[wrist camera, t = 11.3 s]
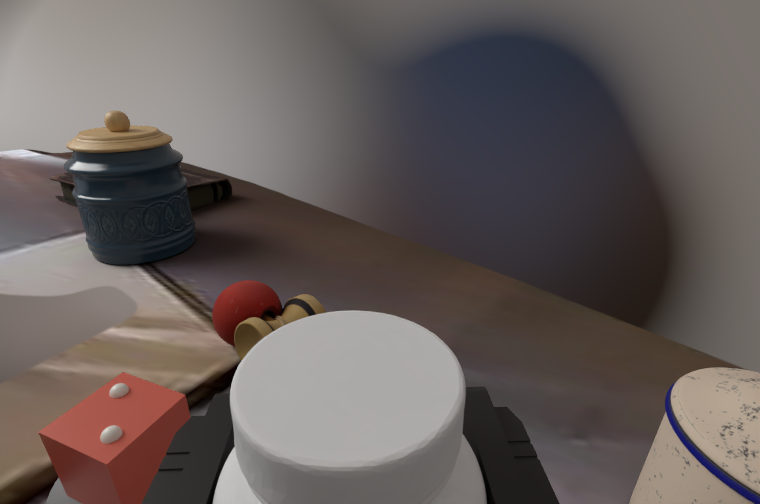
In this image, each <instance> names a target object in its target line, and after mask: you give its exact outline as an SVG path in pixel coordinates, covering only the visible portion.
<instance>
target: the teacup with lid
mask: <svg viewBox="0 0 760 504" xmlns="http://www.w3.org/2000/svg"><path fill="white" fill-rule="evenodd" d="M665 409H666V413H665V415H664V417H663V420H662V422H661V425H660V427H659V430H658V432H657V435H656V437H655V440H654V442H653V445H652V447H651V449H650V452H649V454H648V457H647V459H646V462H645V464H644V467H643V469H642V472H641V474H640V476H639V479H638V481H637V484H636V486H635V489H634V491H633V494H632V496H631V499H630V504H760V373H757V372H753V371H748V370H742V369H734V368H706V369H700V370H696V371H693V372H691V373H688V374H686V375H684V376H683V377H681V378H680V379H679V380H678V381H677V382H675V383H674V384H673V385H672V386H671V387H670V389H669V390H668V392H667V395H666V399H665Z"/></svg>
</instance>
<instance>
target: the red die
mask: <svg viewBox="0 0 760 504" xmlns="http://www.w3.org/2000/svg"><path fill="white" fill-rule="evenodd" d="M190 418H191V417H190V413H189V409H188V405H187V400H186V396H185V395H184V394H181V393H179V392H176V391H173V390H170V389H168V388H165V387H162V386H159V385H157V384H154V383H151V382H148V381H146V380H143V379H140V378H137V377H135V376H132V375H129V374H126V373H124V372H123V373H121V374H120V375H118V376H117V377H116V378H114V379H113V380H111V381H110V382H109V383H107V384H106V385H104V386H103V387H101V388H100V389H99V390H97V391H96V392H94V393H93V394H92V395H90V396H89V397H87V398H86V399H85V400H83V401H82V402H80V403H79V404H78V405H76V406H75V407H73V408H72V409H70V410H69V411H68V412H66V413H65V414H63V415H62V416H61V417H59V418H58V419H56V420H55V421H54V422H52V423H51V424H49V425H48V426H47V427H45V428H44V429H42V430H41V431H39V435H40V437H41V439H42V441H43V444H44V446H45V448H46V450H47V452H48V455H49V457H50V459H51V461H52V464H53V466H54V468H55V470H56V472H57V475H58V477H59V478H58V479H57V481H56V482H55V484H54V486H53V488H52V490H51V492H50V494H49V497H48V499H47V502H46V504H142V502H143V500H144V498H145V496H146V493H147V491H148V489H149V487H150V485H151V483H152V481H153V479H154V477H155V475H156V473H158V468H159V466H160V464H161V462H162V460H163V458H164V457H165V456H166V452H167V450H168V448H169V446H170V444H171V441H172V439H173V437H174V435H175V433H176V432H177V431H178V430H179V429H180V428H181V427H182V426H183V425H184V424H185V423H186V422H187V421H188V420H189V419H190Z"/></svg>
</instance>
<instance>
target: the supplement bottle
mask: <svg viewBox="0 0 760 504" xmlns="http://www.w3.org/2000/svg"><path fill="white" fill-rule="evenodd" d="M465 398H466V387H465V379H464V375H463V372H462V369H461V366H460V364H459V362H458V360H457V358H456V356H455V355H454V353H453V352H452V351H451V349H450V348H449V347H448V346H447V345H446V344H445V343H444V342H443V341H442V340H441V339H440V338H438V337H437V336H436V335H435V334H433V333H432V332H430V331H429V330H427V329H425V328H424V327H422V326H420V325H418V324H416V323H413V322H411V321H408V320H406V319H403V318H400V317H397V316H393V315H388V314H384V313H377V312H370V311H336V312H328V313H322V314H317V315H313V316H309V317H305V318H302V319H299V320H297V321H294V322H291V323H289V324H287V325H284V326H282V327H280V328H279V329H277V330H275V331H273V332H272V333H270V334H269V335H267V336H266V337H264V338H263V339H262V340H260V341H259V342H258V343H257V344H256V345H255V346H254V347H253V348H252V349H251V350H250V351H249V352H248V353H247V355H246V356H245V357H244V358H243V360H242V361H241V363H240V364H239V366H238V368H237V370H236V372H235V375H234V377H233V381H232V385H231V391H230V408H231V415H232V421H233V429H234V444H235V447H234V448H233V450H232V451H231V453H230V454H229V456H228V458H227V460H226V462H225V464H224V466H223V469H222V471H221V474H220V476H219V479H218V483H217V486H216V489H215V493H214V498H213V503H212V504H487V495H486V489H485V484H484V480H483V476H482V472H481V469H480V466H479V464H478V461H477V459H476V456H475V454H474V452H473V450H472V448H471V446H470V445H469V443H468V441H467V440H466V438H465V436H464V435H463V434H462V432H463V418H464V407H465Z"/></svg>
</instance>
